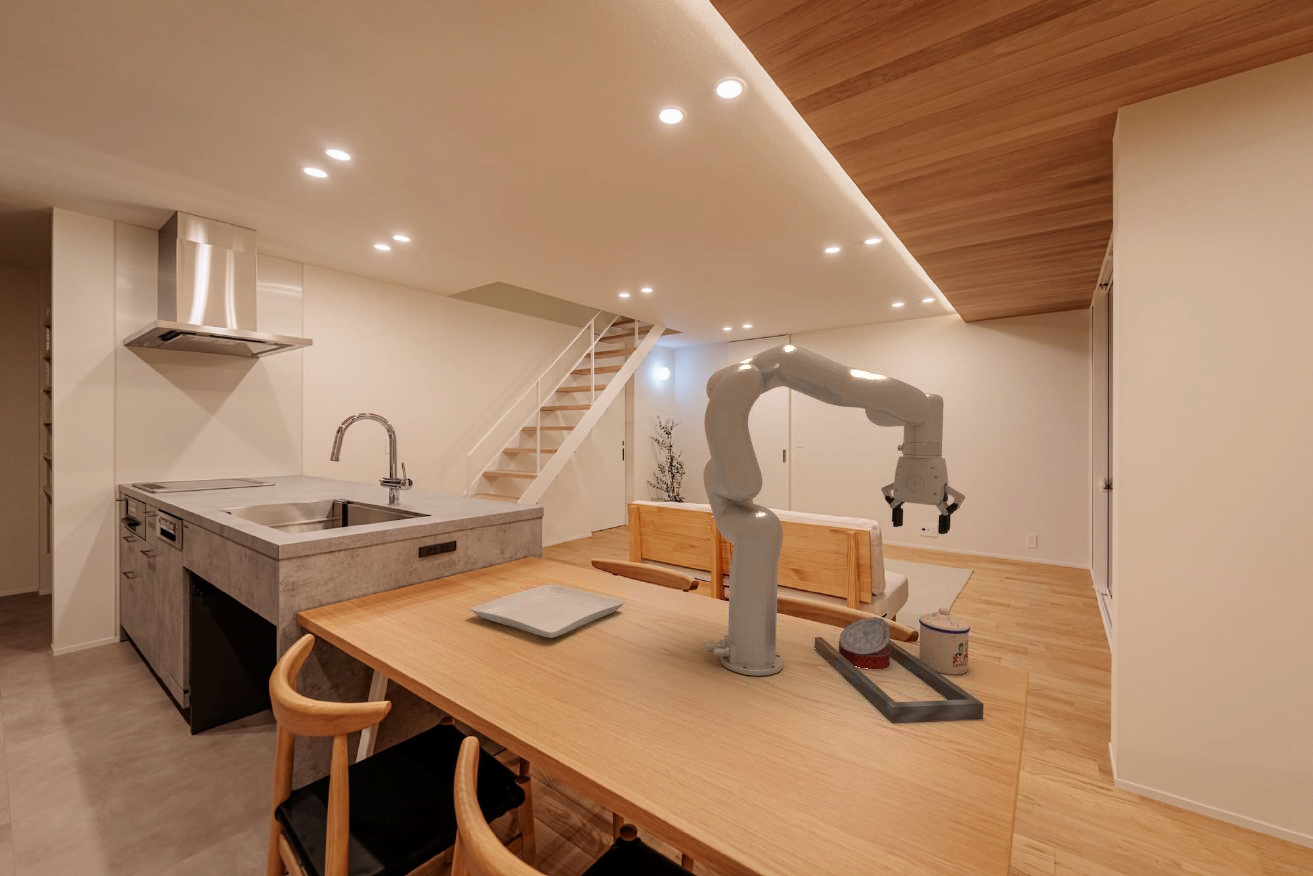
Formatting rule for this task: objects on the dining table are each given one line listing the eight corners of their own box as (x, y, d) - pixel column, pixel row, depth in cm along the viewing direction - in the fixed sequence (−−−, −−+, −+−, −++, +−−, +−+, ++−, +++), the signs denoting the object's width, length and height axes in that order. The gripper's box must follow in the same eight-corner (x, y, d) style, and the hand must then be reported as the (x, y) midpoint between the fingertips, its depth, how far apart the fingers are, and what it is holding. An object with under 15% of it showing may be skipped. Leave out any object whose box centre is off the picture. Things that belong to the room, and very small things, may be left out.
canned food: (888, 691, 106) (902, 657, 101) (837, 680, 107) (847, 646, 102) (879, 645, 115) (891, 613, 111) (832, 636, 117) (842, 604, 112)
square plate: (626, 614, 134) (627, 599, 134) (551, 649, 111) (551, 631, 111) (548, 595, 148) (549, 581, 148) (467, 622, 125) (467, 606, 125)
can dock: (892, 722, 85) (892, 707, 85) (814, 648, 114) (814, 637, 114) (983, 718, 87) (983, 703, 87) (883, 647, 116) (884, 635, 116)
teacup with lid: (962, 680, 100) (964, 619, 100) (912, 665, 107) (913, 608, 107) (976, 661, 109) (978, 605, 109) (928, 649, 116) (930, 596, 115)
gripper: (875, 449, 119) (873, 525, 119) (957, 452, 105) (955, 538, 105) (892, 449, 123) (889, 522, 123) (972, 452, 110) (970, 534, 110)
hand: (919, 529), depth 114 cm, fingers open, 9 cm apart
